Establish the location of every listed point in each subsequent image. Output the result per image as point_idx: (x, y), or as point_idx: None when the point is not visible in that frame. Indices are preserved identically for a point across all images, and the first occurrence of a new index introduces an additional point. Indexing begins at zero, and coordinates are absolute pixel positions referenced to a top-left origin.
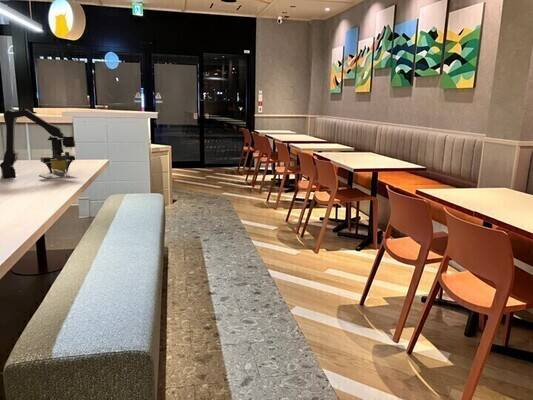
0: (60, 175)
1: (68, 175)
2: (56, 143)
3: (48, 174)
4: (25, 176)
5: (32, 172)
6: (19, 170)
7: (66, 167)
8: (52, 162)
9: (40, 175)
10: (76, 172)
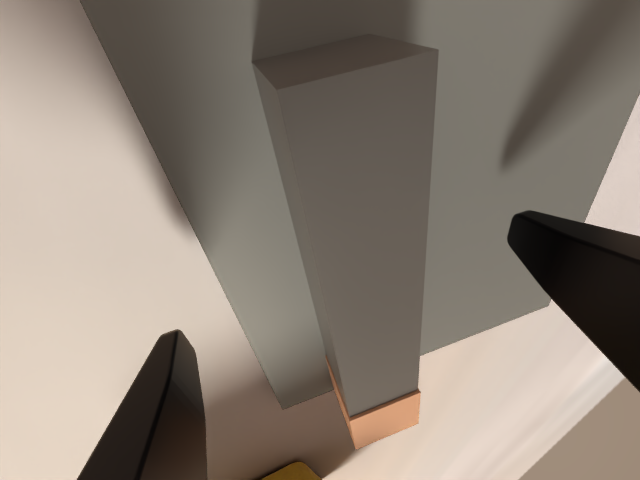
0: (378, 40)
1: (120, 56)
2: None
3: (463, 309)
4: None
5: (477, 430)
6: (492, 468)
7: (177, 470)
8: None
9: None
10: (23, 470)
